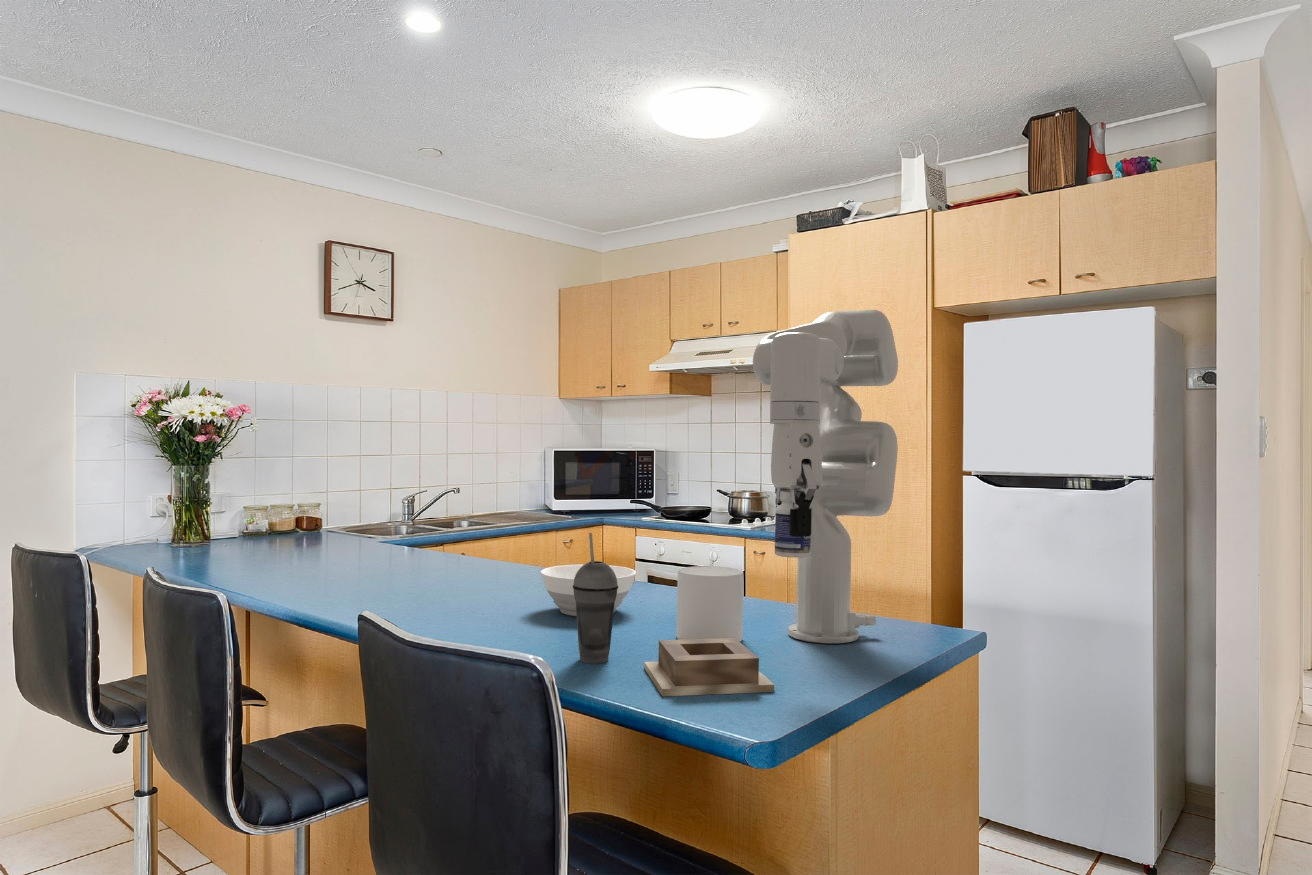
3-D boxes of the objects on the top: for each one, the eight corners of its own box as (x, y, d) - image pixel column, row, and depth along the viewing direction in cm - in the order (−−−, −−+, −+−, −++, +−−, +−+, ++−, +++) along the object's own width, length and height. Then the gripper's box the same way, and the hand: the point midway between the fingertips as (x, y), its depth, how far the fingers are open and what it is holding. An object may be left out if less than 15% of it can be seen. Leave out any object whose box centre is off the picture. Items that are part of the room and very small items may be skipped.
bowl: (633, 623, 157) (634, 580, 157) (532, 621, 157) (533, 578, 158) (637, 603, 177) (638, 565, 177) (547, 601, 177) (547, 563, 177)
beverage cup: (599, 668, 125) (601, 537, 125) (561, 660, 129) (564, 533, 129) (626, 658, 131) (628, 533, 131) (589, 651, 135) (591, 529, 135)
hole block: (744, 664, 129) (745, 636, 129) (774, 691, 115) (774, 659, 115) (644, 668, 126) (644, 638, 126) (662, 696, 112) (662, 663, 112)
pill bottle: (810, 558, 122) (811, 493, 122) (773, 557, 123) (774, 491, 123) (810, 554, 127) (811, 491, 127) (775, 552, 128) (776, 489, 128)
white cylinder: (685, 647, 139) (686, 576, 139) (670, 631, 151) (671, 566, 151) (751, 645, 142) (752, 575, 142) (731, 629, 153) (732, 565, 153)
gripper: (841, 413, 117) (839, 540, 117) (797, 416, 134) (795, 527, 134) (791, 412, 116) (789, 540, 116) (753, 415, 133) (751, 527, 133)
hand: (792, 532), depth 125 cm, fingers closed on pill bottle, 5 cm apart
